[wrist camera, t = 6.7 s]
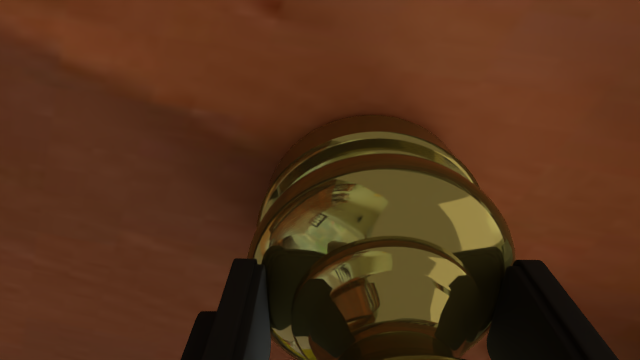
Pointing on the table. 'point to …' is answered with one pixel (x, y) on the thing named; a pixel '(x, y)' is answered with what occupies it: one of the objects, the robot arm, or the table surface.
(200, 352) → the robot arm
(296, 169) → the brass doorknob
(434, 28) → the table surface
